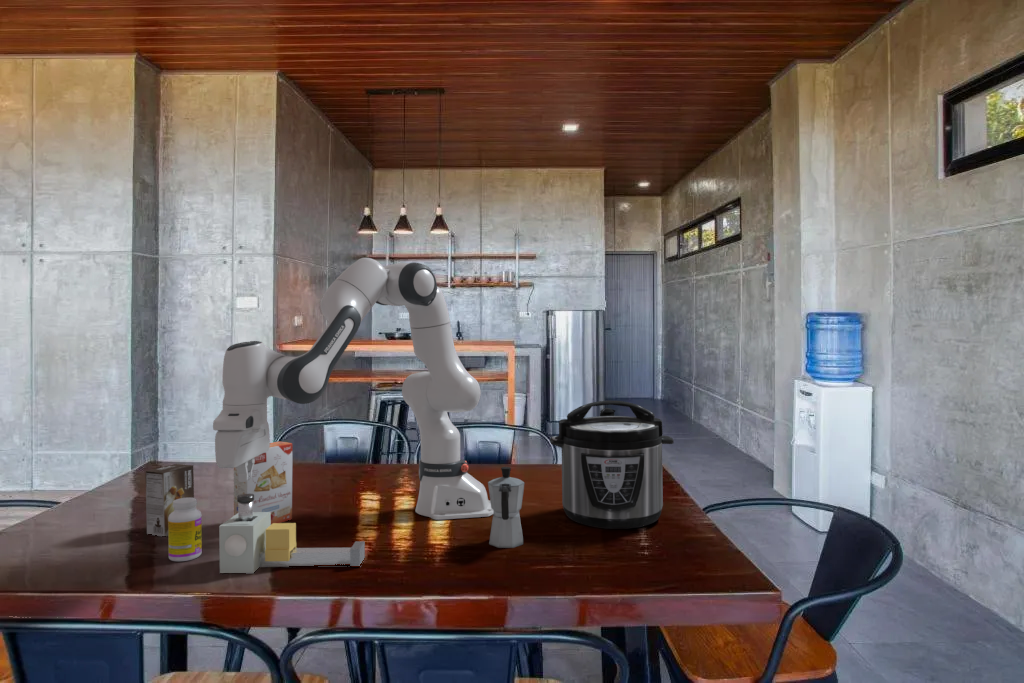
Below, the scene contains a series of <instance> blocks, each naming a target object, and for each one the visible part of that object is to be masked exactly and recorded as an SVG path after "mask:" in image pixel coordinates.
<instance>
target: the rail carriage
mask: <svg viewBox="0 0 1024 683" xmlns="http://www.w3.org/2000/svg"><path fill="white" fill-rule="evenodd" d="M293 548H297V523H296V522H282V523H273V524H271V525H270V526H269V527H268V528H267V529H266V550H265V561H289V560H290V551H291V550H292V549H293Z"/></svg>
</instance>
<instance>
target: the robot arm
mask: <svg viewBox="0 0 1024 683" xmlns="http://www.w3.org/2000/svg"><path fill="white" fill-rule="evenodd" d="M375 304H378V305H380V306H394V307H395V306H396V307H397V306H398V307H403V306H404V308H406V310H407V312H408V318H409V327H410V333H411V339H412V345H413V351H414V355H415V356H416V358H417V359H418V360H420V361H421V362H422V363H423V364H424V366H425V367H426V368H427V371H419V372H415V373H410V375H408V376H406V378H405V379H404V380H403V383H402V387H401V394H402V395H401V396H402V398H403V401H404V402H405V403H406V404H407V405H408V406H409V408H410V409H411V411H412V413H413V415H414V417H415V419H416V422H417V426H418V430H419V436H420V461H419V464H418V478H419V481H420V482H419V489H418V490H419V492H418V497H417V502H416V507H415V513H416V514H418V515H421V516H424V517H429V518H431V519H432V520H437V521H438V520H439V521H440V520H441V521H442V520H453V519H469V518H481V517H482V518H483V517H485V518H486V517H490V516H493V509H492V508H491V502H490V500H489V498H488V492H487V490H486V487H485V485H484V484H483V483H481V482H480V481H479V480H477V479H476V478H475V477H473V475H471V474H470V473H468V471H469V464H468V462H467V460H464V459H461V433H460V431H459V429H458V428H457V426H456V425H454V424H453V422H452V421H451V419H450V417H449V413H454V414H455V413H456V414H457V413H458V414H459V413H465V412H470V411H473V410H474V409H476V407H477V406H478V404H479V403H480V399H481V394H482V390H481V387H480V384H479V382H478V380H477V379H476V378H475V377H474V376H472V375H471V374H470V373H469V372H468V371H467V369H466V368H465V366H464V365H463V363H462V361H461V359H460V357H459V355H458V353H457V350H456V347H455V344H454V343H455V342H454V338H453V337H454V336H453V331H452V326H451V325H452V324H451V319H450V314H449V313H450V312H449V308H448V304H447V301H446V298H445V296H444V293H443V290H442V289H441V288H440V287H439V286H438V283H437V278H436V276H435V273H434V272H433V270H432V269H431V268H430V267H429V266H427V265H426V264H424V263H419V262H395V263H393V264H387V265H383V264H381V263H380V261H378V260H376V259H374V258H371V257H361V258H359V259H357V260H355V261H354V262H353V263H352V264H351V265H349V266H347V267H346V269H344V271H342V272H341V274H339V275H338V276H337V277H336V279H334V280H333V281H332V283H331V284H330V285H329V286H328V287H327V289H326V290H325V292H324V293H323V295H322V297H321V299H320V304H319V305H320V306H319V307H320V311H321V314H322V315H323V318H324V319H325V320H326V321H327V324H326V326H325V328H324V330H323V331H322V332H321V333H320V335H319V336H318V338H317V339H316V341H315V342H314V343H313V345H312V346H311V348H310V349H308V351H306V352H305V353H304V354H303V353H302V354H301V355H298V356H290V355H285V354H283V353H281V352H278V351H275V350H273V349H272V348H270V347H268V346H267V345H266V344H265V343H263V342H262V341H260V340H251V341H242V342H238V343H234V344H232V345H229V346H228V348H226V350H225V352H224V356H223V361H222V362H223V364H222V387H223V390H224V395H223V396H224V397H223V399H222V410H221V411H220V413H219V414H217V417H216V418H214V420H213V422H212V428H213V430H214V431H216V433H215V436H214V453H215V463H216V465H217V467H218V468H219V469H234V468H235V467H236V469H237V472H238V480H239V482H246V481H248V480H249V479H251V478H252V470H253V466H254V463H255V457H257V456H259V455H261V454H263V453H265V452H266V451H268V450H269V446H270V443H271V442H270V436H271V435H270V426H269V421H268V398H269V397H273V398H278V399H281V400H286V401H291V402H293V403H296V404H300V405H306V404H311V403H313V402H316V401H317V400H318V399H320V398H321V396H322V395H323V394H324V392H325V391H326V389H327V386H328V384H329V380H330V377H331V374H332V373H333V369H334V368H335V367H336V365H337V363H338V361H339V360H340V358H341V357H342V356H343V354H344V352H345V350H347V348H348V347H349V345H350V343H351V342H352V340H353V339H354V337H355V336H356V334H357V332H358V330H359V328H360V326H361V323H362V321H363V320H364V318H365V317H366V316H367V315H368V314H369V312H370V310H371V309H372V308H373V306H374V305H375Z"/></svg>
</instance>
